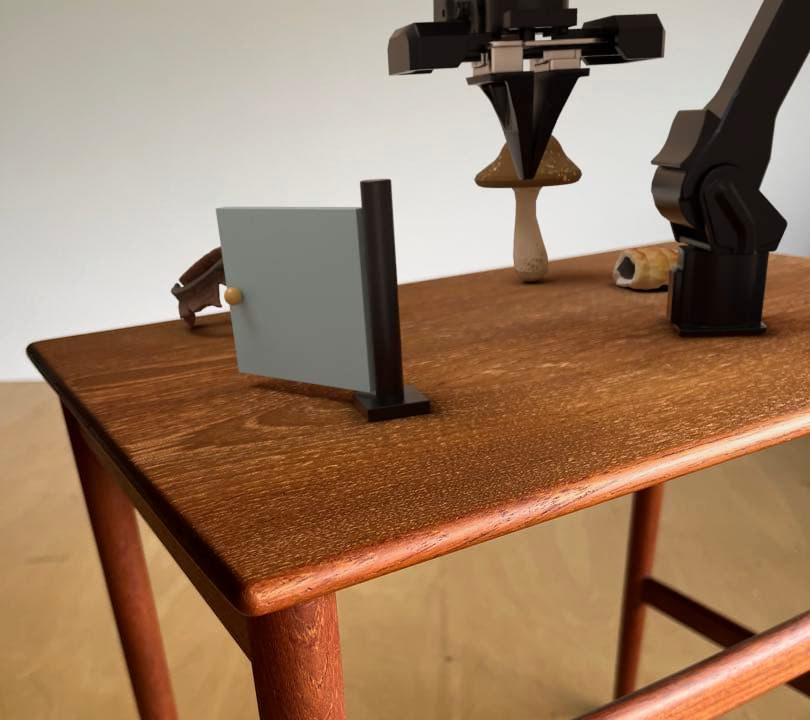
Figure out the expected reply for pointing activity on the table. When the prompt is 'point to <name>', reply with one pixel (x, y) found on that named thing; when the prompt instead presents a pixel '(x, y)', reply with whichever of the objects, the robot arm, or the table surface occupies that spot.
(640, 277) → the pastry
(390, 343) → the door frame
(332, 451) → the table surface
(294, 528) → the table surface
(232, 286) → the door
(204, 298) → the broken clay pot shard
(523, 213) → the mushroom
